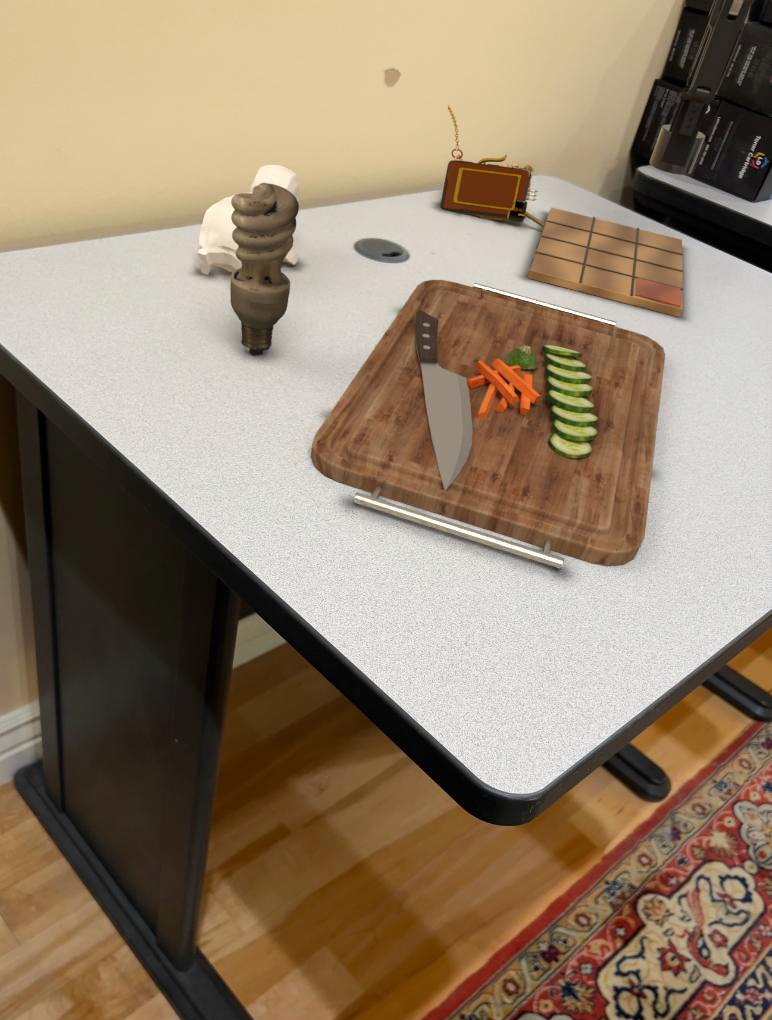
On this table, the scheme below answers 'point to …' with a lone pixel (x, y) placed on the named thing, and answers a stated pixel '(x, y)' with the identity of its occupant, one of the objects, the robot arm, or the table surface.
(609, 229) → the game board
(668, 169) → the dark grey short cylinder
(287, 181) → the white lumpy sculpture
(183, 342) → the table surface
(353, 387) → the chopping board
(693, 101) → the robot arm
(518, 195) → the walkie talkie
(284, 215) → the light bulb
